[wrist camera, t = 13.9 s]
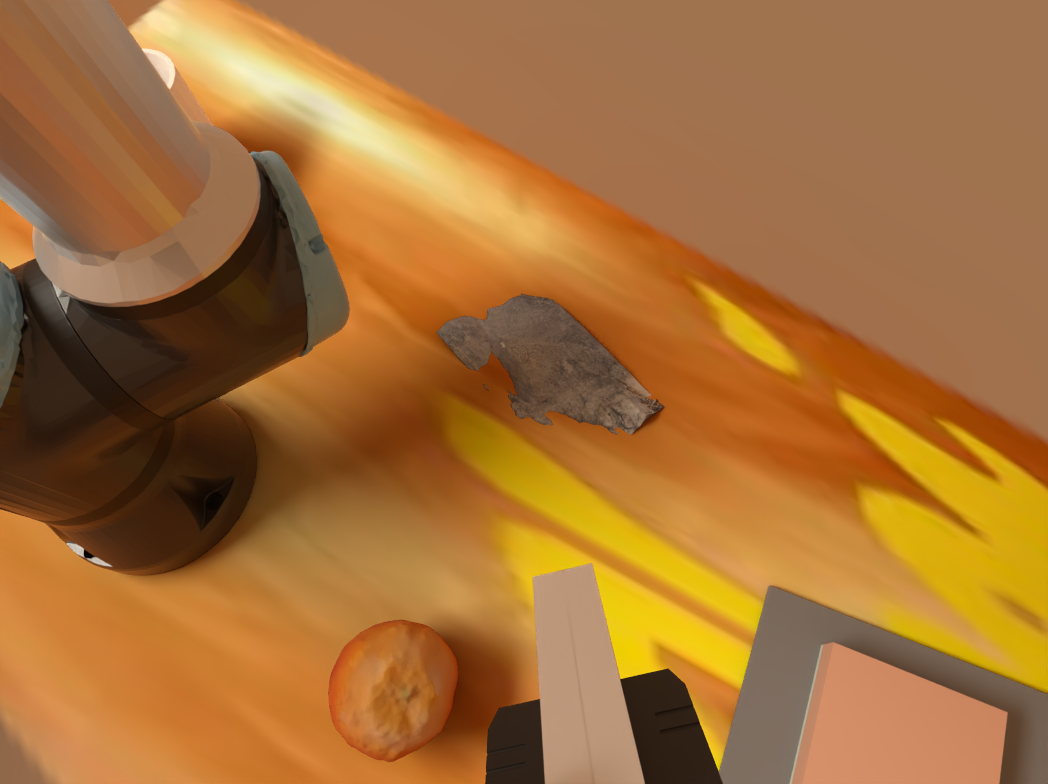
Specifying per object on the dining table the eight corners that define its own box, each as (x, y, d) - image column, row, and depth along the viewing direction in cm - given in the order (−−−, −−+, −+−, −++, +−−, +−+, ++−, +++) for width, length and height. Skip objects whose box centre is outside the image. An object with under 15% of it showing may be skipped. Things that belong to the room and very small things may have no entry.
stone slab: (430, 334, 55) (516, 262, 57) (435, 344, 57) (519, 273, 59) (577, 485, 49) (668, 399, 51) (578, 490, 51) (666, 407, 52)
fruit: (353, 594, 46) (376, 604, 39) (450, 635, 48) (488, 652, 41) (297, 711, 43) (310, 745, 36) (402, 750, 45) (434, 789, 38)
